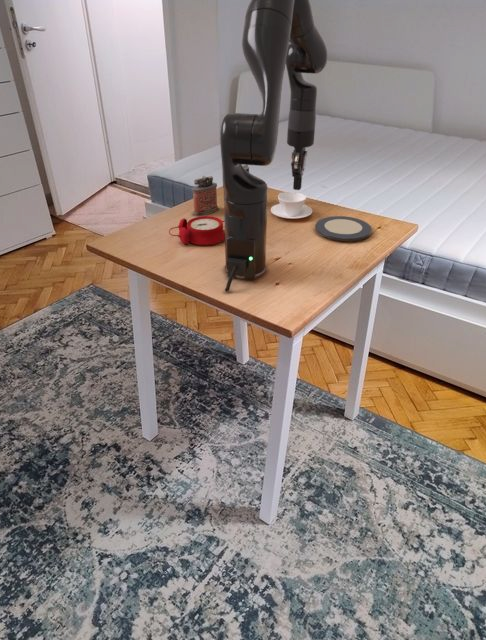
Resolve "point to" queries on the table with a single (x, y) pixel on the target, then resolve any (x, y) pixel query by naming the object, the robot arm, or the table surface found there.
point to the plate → (343, 228)
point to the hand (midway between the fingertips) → (297, 189)
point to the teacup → (291, 206)
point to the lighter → (204, 196)
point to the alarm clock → (201, 230)
